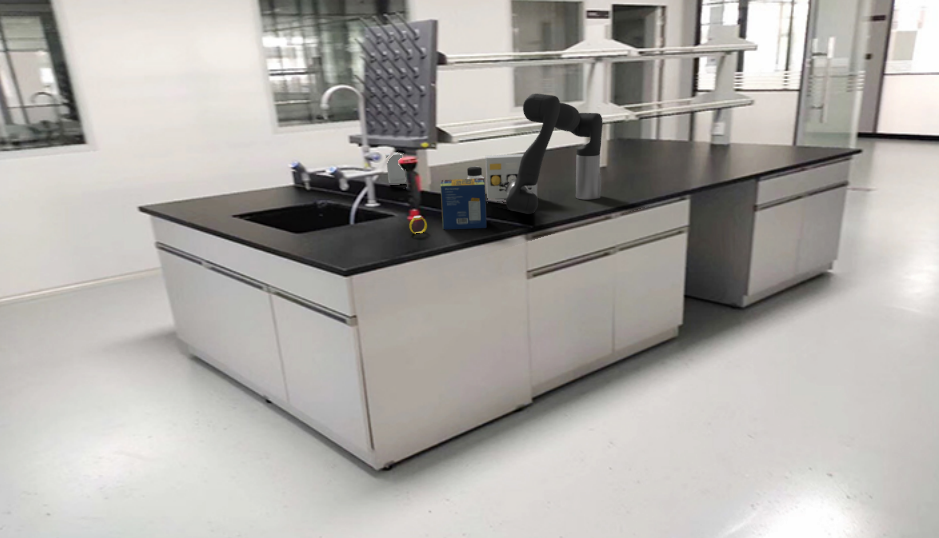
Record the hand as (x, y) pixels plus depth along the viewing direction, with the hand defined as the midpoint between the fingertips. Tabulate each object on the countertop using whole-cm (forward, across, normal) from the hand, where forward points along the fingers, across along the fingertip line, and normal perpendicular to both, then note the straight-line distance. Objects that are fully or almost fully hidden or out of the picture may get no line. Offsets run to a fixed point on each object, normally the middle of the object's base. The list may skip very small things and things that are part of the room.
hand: (513, 182), depth 239 cm
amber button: (+7, +7, +2) cm, 10 cm away
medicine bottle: (+21, +14, +9) cm, 27 cm away
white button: (+4, 0, +2) cm, 5 cm away
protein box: (-26, +20, +9) cm, 34 cm away
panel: (+8, 0, +9) cm, 12 cm away
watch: (-34, +36, +9) cm, 50 cm away
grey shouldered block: (+51, +50, +9) cm, 72 cm away
